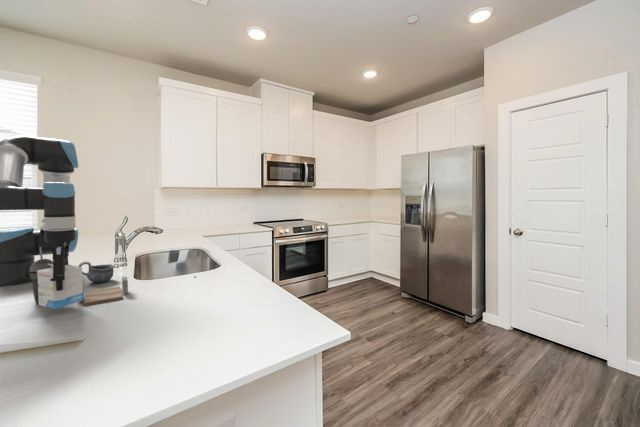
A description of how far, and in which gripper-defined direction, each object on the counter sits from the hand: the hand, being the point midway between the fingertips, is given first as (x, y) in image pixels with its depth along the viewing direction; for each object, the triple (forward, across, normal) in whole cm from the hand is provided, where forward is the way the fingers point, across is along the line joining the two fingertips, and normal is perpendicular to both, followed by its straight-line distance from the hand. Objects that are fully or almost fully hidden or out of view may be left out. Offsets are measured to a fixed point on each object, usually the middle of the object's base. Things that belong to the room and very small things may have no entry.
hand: (62, 294), depth 92 cm
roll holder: (+6, -8, +11) cm, 15 cm away
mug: (+6, -32, +9) cm, 33 cm away
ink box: (+3, 0, 0) cm, 3 cm away
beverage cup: (+6, -14, -6) cm, 16 cm away
